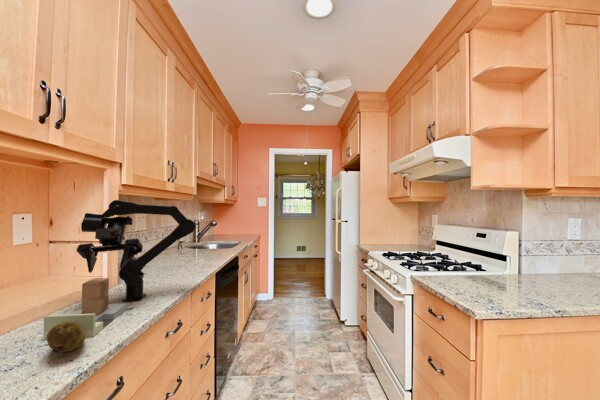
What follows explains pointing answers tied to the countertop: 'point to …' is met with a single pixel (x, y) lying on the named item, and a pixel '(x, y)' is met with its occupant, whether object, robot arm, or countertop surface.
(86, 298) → the walnut block
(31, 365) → the countertop surface
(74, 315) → the trap board
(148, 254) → the robot arm
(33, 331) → the countertop surface
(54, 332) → the potato
